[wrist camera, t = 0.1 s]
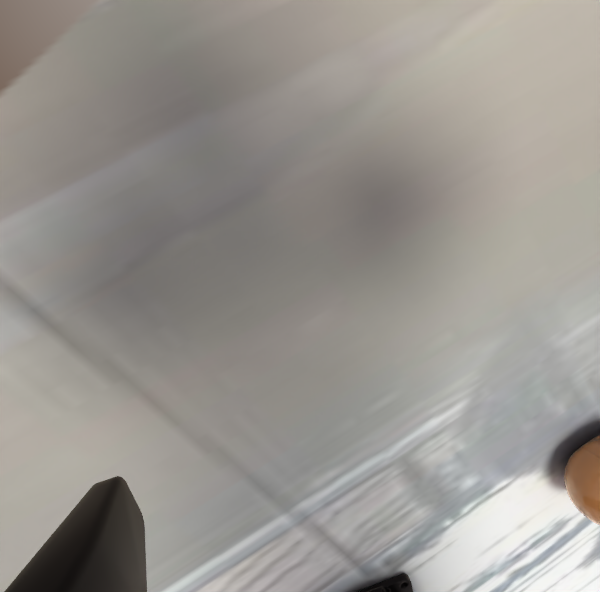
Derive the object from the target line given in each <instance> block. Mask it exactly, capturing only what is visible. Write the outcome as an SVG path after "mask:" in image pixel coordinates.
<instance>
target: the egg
mask: <svg viewBox="0 0 600 592" xmlns="http://www.w3.org/2000/svg"><path fill="white" fill-rule="evenodd" d="M564 480H565V486H566V490H567V493H568V495H569V497H570V499H571V501H572V502H573V504H574V505H575V507H576V508H577V509H578V510H579V511H580V512H581V513H582V514H583V515H584V516H586V517H587V518H588V519H590V520H591V521H592V522H594V523H596V524H598V525H600V435H598V436H596V437H594V438H593V439H591V440H590V441H589V442H587V443H586V444H584V445H583V446H581V447H580V448H578V449H577V450H576V451H575V452H574V453H573V454H572V455H571V457H570V458H569V460H568V462H567V465H566V467H565V473H564Z"/></svg>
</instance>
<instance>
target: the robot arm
mask: <svg viewBox="0 0 600 592" xmlns="http://www.w3.org/2000/svg"><path fill="white" fill-rule="evenodd" d="M5 592H147V580H146V553H145V527H144V520H143V516H142V513H141V511H140V509H139V507H138V505H137V503H136V501H135V499H134V497H133V495H132V493H131V491H130V489H129V487H128V485H127V483H126V481H125V480H124V479H123V478H122V477H119V476H117V477H114V478H111V479H108V480H105V481H102V482H99V483H96V484H95V485H93V486H92V488H91V489H90V490H89V491H88V492H87V493H86V495H85V496H84V497H83V498H82V499H81V501H80V502H79V503H78V504H77V505H76V507H75V508H74V509H73V510H72V511H71V513H70V514H69V515H68V516H67V517H66V519H65V520H64V521H63V522H62V523H61V525H60V526H59V527H58V528H57V529H56V531H55V532H54V533H53V534H52V535H51V537H50V538H49V539H48V540H47V541H46V543H45V544H44V545H43V546H42V547H41V549H40V550H39V551H38V552H37V553H36V555H35V556H34V557H33V558H32V559H31V561H30V562H29V563H28V564H27V565H26V567H25V568H24V569H23V570H22V571H21V573H20V574H19V575H18V576H17V577H16V579H15V580H14V581H13V582H12V583H11V585H10V586H9V587H8V588H7V589H6V591H5ZM358 592H413V589H412V584H411V581H410V579H409V577H408V575H406V574H401V575H399V576H396V577H393V578H391V579H388V580H386V581H383V582H381V583H378V584H376V585H373V586H371V587H368V588H366V589H363V590H361V591H358Z"/></svg>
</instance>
